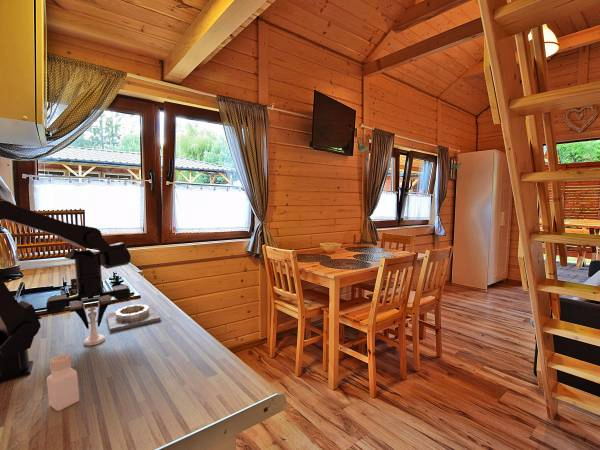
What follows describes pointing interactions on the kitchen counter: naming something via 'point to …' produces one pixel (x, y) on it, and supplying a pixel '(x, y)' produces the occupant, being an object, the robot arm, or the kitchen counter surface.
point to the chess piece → (93, 330)
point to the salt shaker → (62, 383)
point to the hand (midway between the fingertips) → (93, 327)
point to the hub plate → (132, 317)
